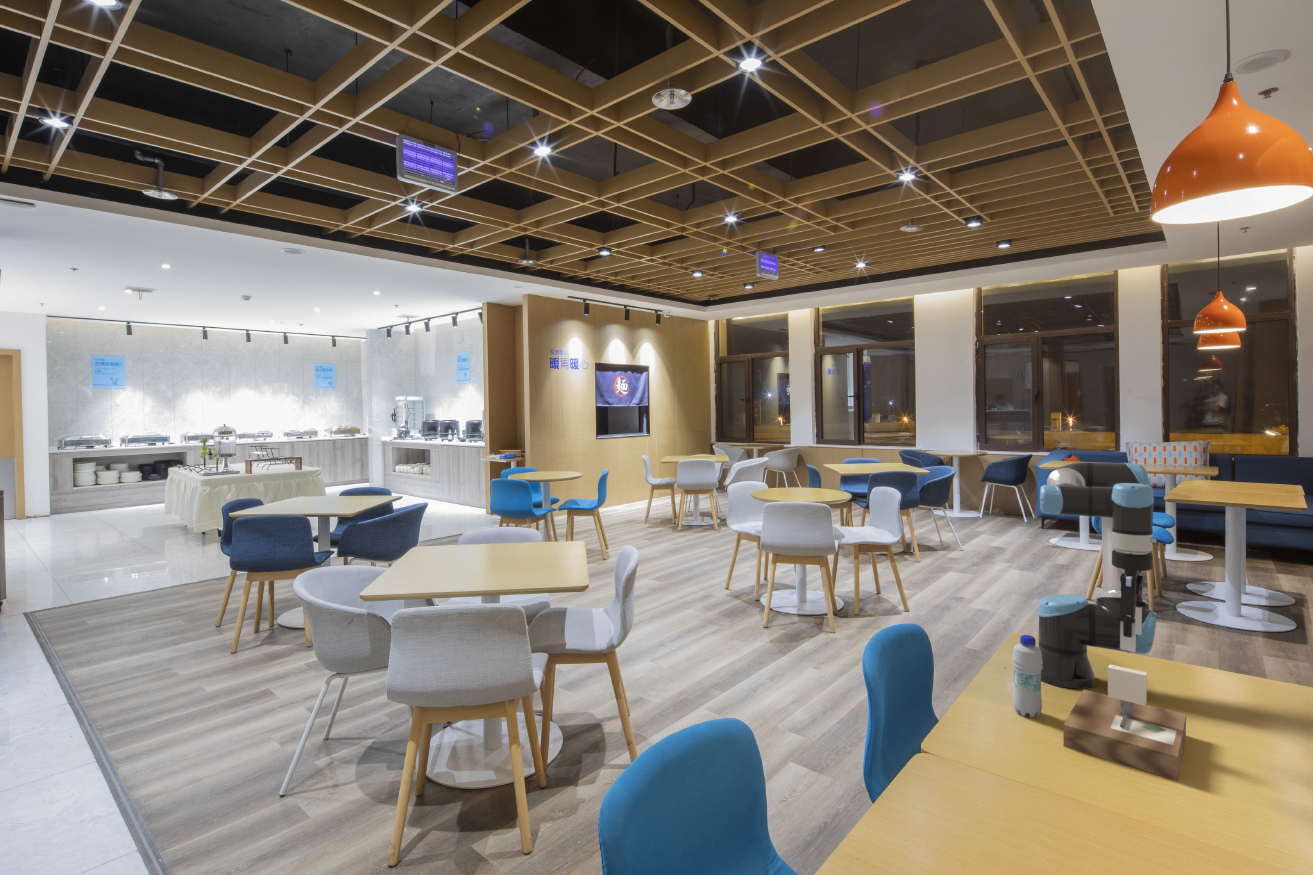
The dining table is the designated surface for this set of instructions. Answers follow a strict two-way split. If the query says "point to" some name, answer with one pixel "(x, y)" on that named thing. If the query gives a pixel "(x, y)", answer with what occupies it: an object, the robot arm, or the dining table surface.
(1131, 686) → the white box with rod
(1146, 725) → the wooden box with sign
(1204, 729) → the dining table surface
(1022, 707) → the bottle
